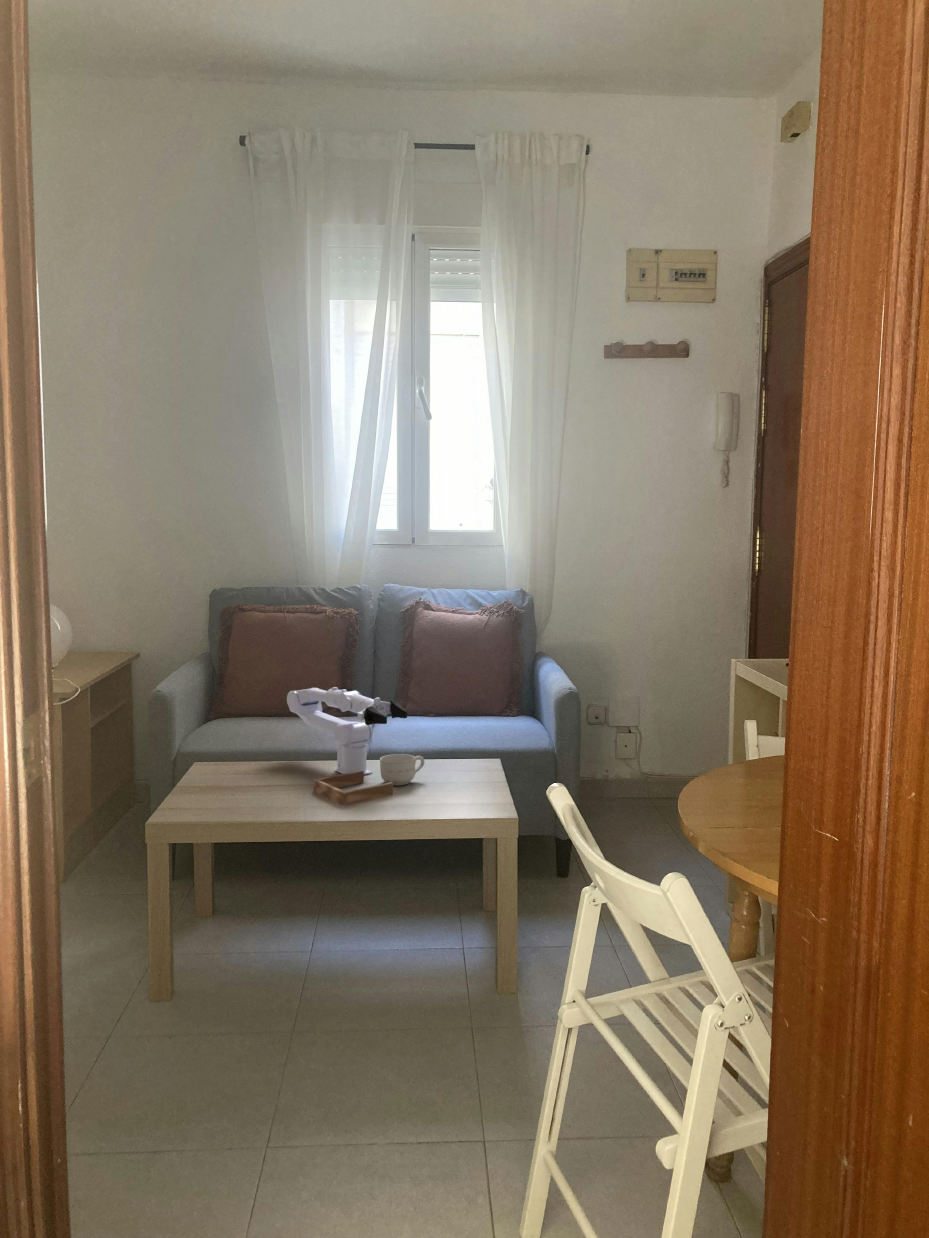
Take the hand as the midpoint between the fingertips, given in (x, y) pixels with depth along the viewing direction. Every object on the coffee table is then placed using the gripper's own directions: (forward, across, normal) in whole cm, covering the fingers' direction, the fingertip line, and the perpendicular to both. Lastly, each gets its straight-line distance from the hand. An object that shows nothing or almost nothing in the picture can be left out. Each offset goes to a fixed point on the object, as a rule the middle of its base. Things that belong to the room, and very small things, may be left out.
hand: (396, 717), depth 276 cm
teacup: (-1, +3, +22) cm, 22 cm away
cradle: (-2, -14, +20) cm, 25 cm away
